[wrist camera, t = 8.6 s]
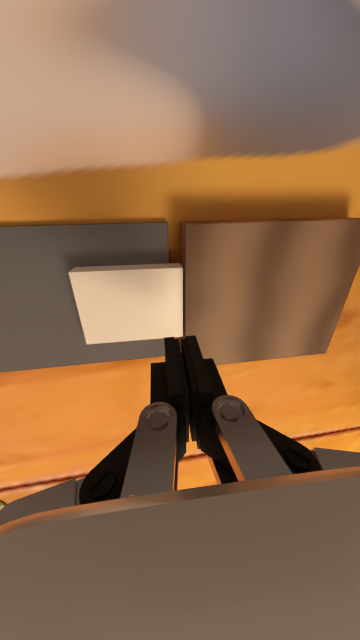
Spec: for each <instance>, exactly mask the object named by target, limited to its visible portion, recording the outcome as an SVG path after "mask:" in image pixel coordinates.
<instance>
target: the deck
mask: <svg viewBox="0 0 360 640" xmlns="http://www.w3.org/2000/svg"><path fill="white" fill-rule="evenodd" d="M180 239H181V265H182V267H183V337H182V339H185V336H192V335H195V336H196V338H197V341H198V344H199V347H200V350H201V353H202V356H203V359H208V358H212V359H213V360H214V363H215V365H221V364H230V363H240V362H249V361H258V360H268V359H277V358H286V357H296V356H305V355H314V354H323V353H326V351H327V349H328V346H329V343H330V341H331V338H332V336H333V333H334V330H335V328H336V325H337V322H338V320H339V317H340V315H341V312H342V309H343V307H344V304H345V301H346V299H347V296H348V294H349V291H350V288H351V286H352V283H353V280H354V278H355V275H356V273H357V270H358V267H359V265H360V218H312V219H274V220H235V221H196V222H180Z"/></svg>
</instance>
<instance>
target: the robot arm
mask: <svg viewBox="0 0 360 640" xmlns="http://www.w3.org/2000/svg"><path fill="white" fill-rule="evenodd" d="M164 345H165V362H160V363H151V400H150V404H149V405H148V406H146V407H145V408H144V409H143V411H142V412H141V414H140V417H139V421H138V425H137V428H136V429H135V430H134V431H133V432H132V433H131V434H130V435H128V436H127V437H126V438H125V439H124V440H123V441H122V442H121V443H120V444H119V445H118V446H117V447H116V448H115V449H114V450H113V451H111V452H110V453H109V454H108V455H107V456H106V457H105V458H104V459H103V460H102V461H101V462H100V463H99V464H98V465H97V466H96V467H94V468H93V469H92V470H91V471H90V472H89V474H88V475H87V476H86V477H85V478H83V479H80V480H78V481H77V480H76V478H75V479H72V480H69V481H66V482H64V483H61V484H58V485H56V486H53V487H50V488H47V489H45V490H42V491H39V492H36V493H34V494H31V495H28V496H26V497H23V498H20V499H17V500H15V501H13V502H11V503H9V504H7V505H5V506H4V507H3V508H2V509H1V510H0V640H360V453H359V452H350V451H341V450H332V449H323V448H313V450H309V449H307V448H306V447H305V446H303V445H302V444H300V443H298V442H296V441H294V440H293V439H291V438H289V437H287V436H285V435H283V434H282V433H280V432H278V431H276V430H274V429H273V428H271V427H269V426H267V425H265V424H263V423H262V422H260V421H258V420H256V418H255V417H254V415H253V414H252V412H251V411H250V409H249V408H248V406H247V405H246V404H245V403H244V402H243V401H242V400H241V399H239V398H237V397H235V396H231V395H227V392H226V390H225V387H224V385H223V382H222V380H221V377H220V375H219V373H218V370H217V368H216V365H215V363H214V360H213V359H212V358H208V359H203V356H202V353H201V350H200V347H199V344H198V341H197V338H196V336H195V335H192V336H185V339H181V350H180V345H179V340H178V339H174V337H164ZM189 426H190V432H191V438H192V441H197V447H198V449H201V451H203V452H204V453H205V454H207V455H208V458H209V462H210V465H211V468H212V470H213V473H214V476H215V478H216V481H217V484H218V485H212V486H205V487H198V488H191V489H183V490H178V469H179V463H178V462H179V461H180V460H181V458H182V457H183V456H184V454H185V453H186V442H189Z"/></svg>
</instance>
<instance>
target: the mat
mask: <svg viewBox="0 0 360 640" xmlns="http://www.w3.org/2000/svg"><path fill="white" fill-rule="evenodd" d="M167 263H169V250H168V224H167V222H158V223H119V224H80V225H41V226H3V227H0V372H10V371H20V370H30V369H40V368H50V367H60V366H70V365H80V364H90V363H100V362H110V361H120V360H130V359H141V358H151V357H161V356H165V345H164V338H161V339H148V340H136V341H124V342H111V343H99V344H86V340H85V336H84V332H83V328H82V324H81V320H80V316H79V312H78V308H77V304H76V301H75V297H74V293H73V289H72V285H71V281H70V277H69V273H68V272H69V271H71V270H72V269H73V268H74V267H88V266H114V265H141V264H167Z"/></svg>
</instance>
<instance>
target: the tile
mask: <svg viewBox="0 0 360 640" xmlns="http://www.w3.org/2000/svg"><path fill="white" fill-rule="evenodd" d="M68 273H69V277H70V281H71V285H72V289H73V293H74V297H75V301H76V304H77V308H78V312H79V316H80V320H81V324H82V328H83V332H84V336H85V340H86V344H99V343H111V342H124V341H136V340H148V339H161V338H164V337H183V267H182V265H181V264H180V263H167V264H141V265H114V266H88V267H74V268H73V269H72V270H71V271H69V272H68Z"/></svg>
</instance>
